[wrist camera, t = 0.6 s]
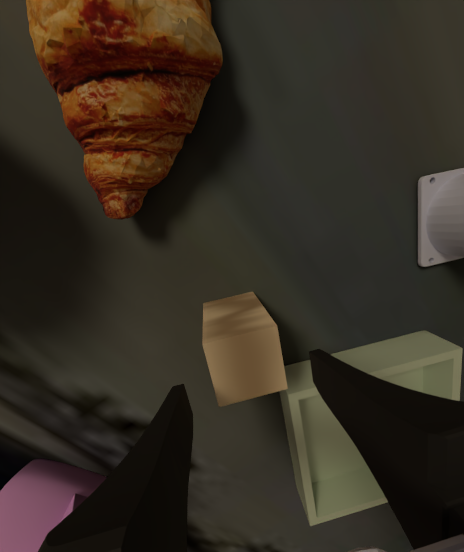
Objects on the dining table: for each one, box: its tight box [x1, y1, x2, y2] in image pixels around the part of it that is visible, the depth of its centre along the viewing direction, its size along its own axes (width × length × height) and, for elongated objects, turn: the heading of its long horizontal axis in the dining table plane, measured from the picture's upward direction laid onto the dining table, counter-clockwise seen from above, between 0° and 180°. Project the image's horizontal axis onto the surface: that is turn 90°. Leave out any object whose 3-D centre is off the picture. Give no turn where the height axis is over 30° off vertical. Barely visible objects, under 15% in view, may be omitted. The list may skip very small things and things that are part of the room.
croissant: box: [26, 0, 223, 219], centre depth 13 cm, size 21×10×8 cm, turn 171°
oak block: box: [203, 292, 288, 407], centre depth 17 cm, size 4×4×7 cm
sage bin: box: [279, 330, 462, 526], centre depth 23 cm, size 16×16×4 cm
